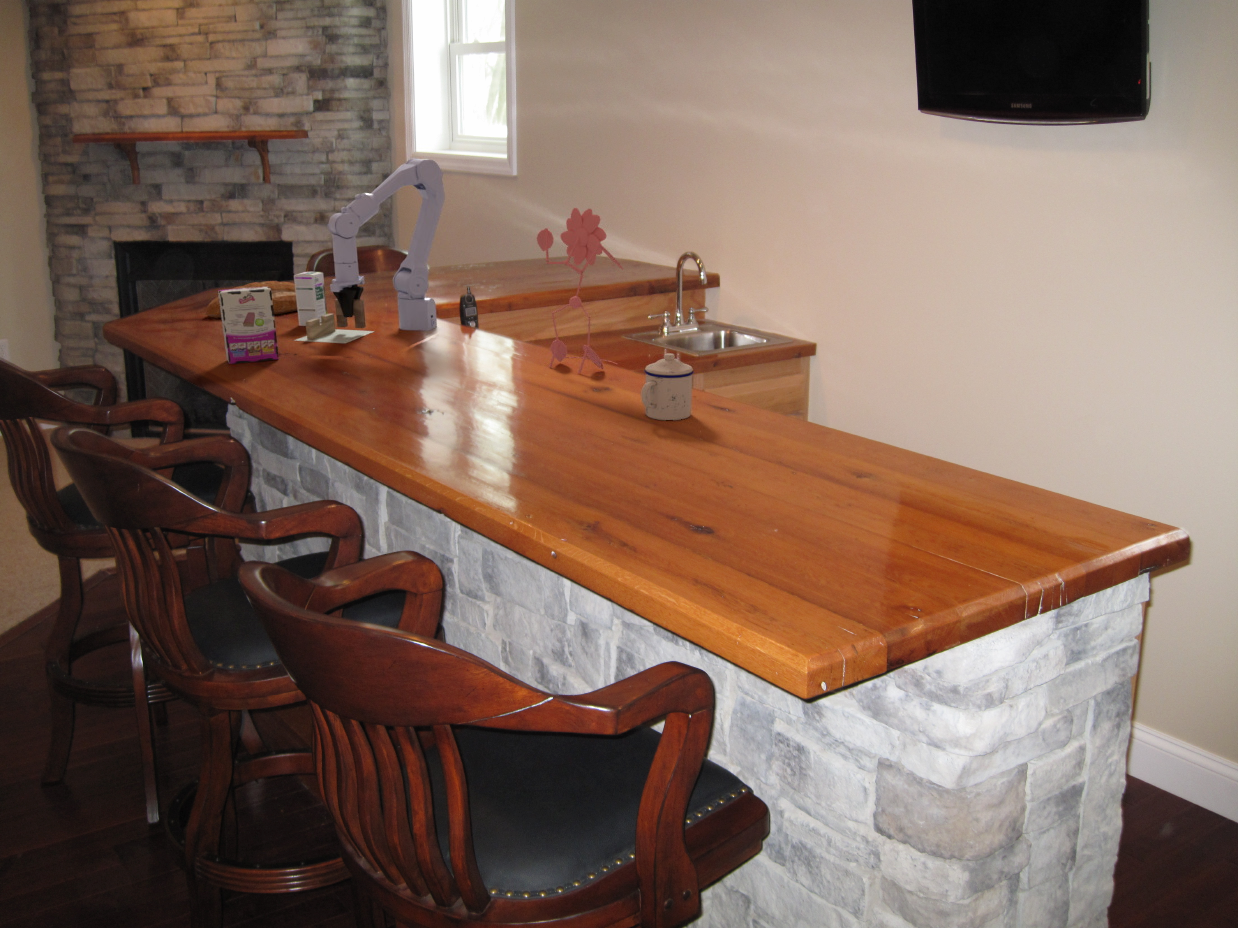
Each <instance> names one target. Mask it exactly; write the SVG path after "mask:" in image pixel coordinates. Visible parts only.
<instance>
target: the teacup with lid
mask: <svg viewBox="0 0 1238 928" xmlns="http://www.w3.org/2000/svg"><path fill="white" fill-rule="evenodd" d="M675 357H676V356H675V354H674V353H669V352H668V353H664V354H663V358H661V359H659V360H657V361H656V362H653V363H650V364H648V365H646V366H645V369H644V373H645V384H643V386H642V387H641V390H640V398H641V402H642V404H643V406H644V407H645V408H644V413H645V415H646V417H648V418H649V419H652V420H653V419H654V420H659V421H666V420H673V421H681V419H682V420H684V419H687V418H689V417H690V416H691V415H692V391H693V390H692V389H693V374H694V369H693V367H692V366H691V365H689V364H687V363H684V362H682V361H681V360H679V359H677V358H675Z"/></svg>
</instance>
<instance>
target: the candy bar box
mask: <svg viewBox="0 0 1238 928" xmlns="http://www.w3.org/2000/svg"><path fill="white" fill-rule="evenodd" d="M217 292H218V293H217V295H218V296H219V302H220V310H221V318H220V319H221V323H222V325H221V326H222V332H223V338H224V339H223V340H224V349H225V355H226V361H227V362H228V364H230V365H235V364H244V363H254V362H255V363H256V362H265V361H275V360H279V359H280V358H279V357H280V355H279V346H278V338H277V330H276V329H277V328H276V320H275V319H276V318H275V315H274V309H273V302H272V292H271V289H270V288H269V287H255V288H241V289H233V288H230V289H218V290H217Z"/></svg>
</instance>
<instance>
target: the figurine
mask: <svg viewBox="0 0 1238 928" xmlns="http://www.w3.org/2000/svg"><path fill="white" fill-rule="evenodd" d="M565 223H566V225H565V226H566V230H565V231H563V232H561V234H560V239H561V241H562V243H563V244H564V245H566V246H567V247H566V254H567V258H566V259H565V260H564V261H550V259H549V258H550V257H549V255H550V254H549V249H550V248H552V247H553V244H554V236H553V233H552V232H551V231H550V230H549V228H547V227H545V228H544V229H541V230H540V231H539V232H538V233H537V236H536V242H537V245H538V246H539V248H540V249H541V251H543V252H545V257H546V258H545V260H546V265H563V264H564V266H568V267H569V268H571V269H572V270H574V271H575V272H576V273H578V274H580V278H579V281H578V285H577V290H576V294H575V296H572V297H570V298H569V300H568V301H569V302H568V303H569V304H566V305H565V306H562V307H561V308H558V309H556V310H554V311H552V312H551V315H552V316H551V317H552V322H553V327H554V332H555V340H553V341H552V343H551V345H550V352H551V354H552V355H551V356H552V357H551V360H550V362H549V366H548V368H552V366H553V363H554V360H555V359H556V360H557V361H558V362H559V363H561V362H562V361H564V359H567V358H569V359H570V358H571V359H572V358H573V359H574V358H577V359H582V360H581V362H580V366H579V369H578V373H577V374H581V373H582V370H583V367H584V364H585V361H586V359H587V358H588V359H589V360H590V361H591V362H592V363H593V364H595V366H597V368H599V369H601V370H604V365H603V362H602V361H604V362H605V361H606V362H609V363H613V364H616V365H618V363H616V362H614V361H611V360H608V359H605V358H600V356H599V355H598V354H597V353H596V351H594V350H593V349H592V348H591V347H590V333H591V316H590V315H589V313H588V312H587V310H586V309H585V307H584V306H583V304H582V299H581V298H580V297H579V292H580V288H581V285H582V282H583V278H584V272H585V270H586V269H587V267H588V266H594V264H595V263H596V259H597V256H601V255H602V254H603V253H604V254H605V255H606V256H607V257H608V258H609V259H610V260H611V261H612V262H613V263H614V264H615V265H616V266H618V268H620V269H621V270H623V269H624V268H623V266H622V265H621V264H620V263H619V261H618V260H617V259H616V258H615V257H614V256H613V255H612V253H610V251H608V249H606V248H605V247H604V246H603V245H602V243H601V242H603V241H604V240H606V238H607V233H606V231H605V230H604V228H601V227H600V226H599V224H600V223H601V217H600V216H599V215H598V214H593V210H592V208H586V210H584V211H583V212H582V214H581V212H580V210H579V209H578V208H577V207H573V209H572V210H571V213H570V218H567V219H566V222H565ZM571 257H573V264H574V265H573V264H572V263H570V262H569V261H570V260H571ZM585 260H586V263H585V264H584V266H583V267H582V269H580V268H578V267H577V266H580V265H581V264H582V263H583V262H584V261H585ZM568 307H571V308H572V309H579V308H581V309H582V310H583V312H584V313H585V314H586V317H588V326H587V327H588V329H587V331H588V332H587V345H586V344H584V345H583V346H582V350H583V351H584V354H583V356H567V353H568V350H567V349H568V348H567V346H566V345H565V343H564V342H563V341H562V340H560V339H559V337H558V335H559V334H558V329H557V325H556V320H555V315H554V314H555V313H557V312H559V311H562V310H564V309H566V308H568ZM595 377H596V378H599V377H601V375H596V376H595Z"/></svg>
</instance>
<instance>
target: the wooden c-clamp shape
mask: <svg viewBox="0 0 1238 928" xmlns="http://www.w3.org/2000/svg"><path fill="white" fill-rule="evenodd" d="M364 300H365V299H360V300H358V299H354V303H353V315H354V316H353V318H354V328H355V329H364V328H366V315H365V313H366V311H365V303H364ZM334 306H335V317H336V328H347V327H348V326H349V325H348V317H344V315H343V312H342V309H341V306H340V304H339V302H338V300H337V298H336V299H334Z"/></svg>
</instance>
